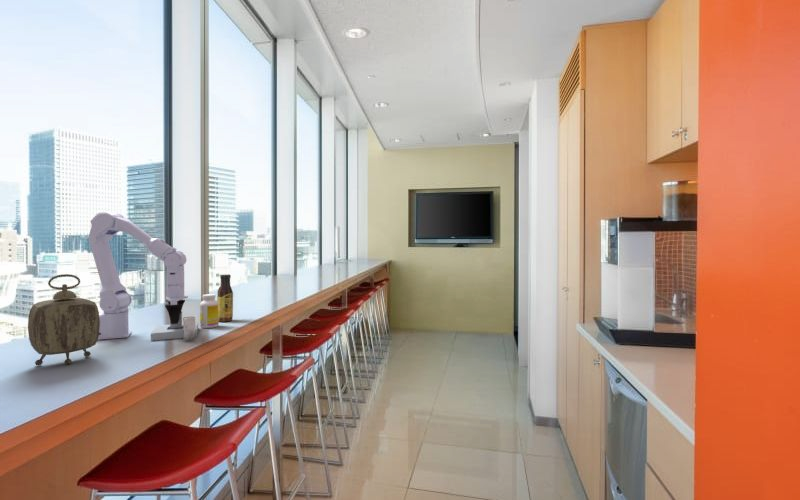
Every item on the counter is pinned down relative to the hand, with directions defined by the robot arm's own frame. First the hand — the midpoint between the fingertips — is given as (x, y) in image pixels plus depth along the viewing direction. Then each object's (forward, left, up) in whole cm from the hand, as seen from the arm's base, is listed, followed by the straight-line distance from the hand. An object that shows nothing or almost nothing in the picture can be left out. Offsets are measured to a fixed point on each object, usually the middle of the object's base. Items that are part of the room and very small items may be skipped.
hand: (175, 321), depth 146 cm
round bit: (+5, -12, -5) cm, 14 cm away
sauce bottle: (+17, +19, -5) cm, 26 cm away
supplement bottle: (+11, +9, -5) cm, 15 cm away
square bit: (0, 0, -5) cm, 5 cm away
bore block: (0, 0, -5) cm, 5 cm away
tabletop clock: (-25, -26, -5) cm, 36 cm away
